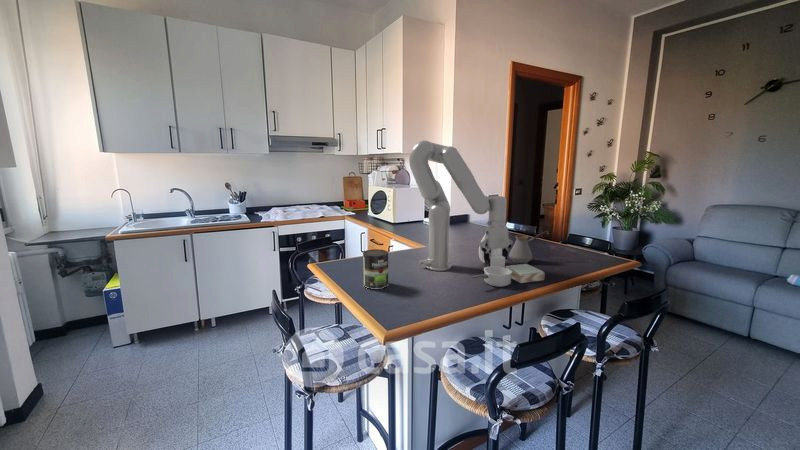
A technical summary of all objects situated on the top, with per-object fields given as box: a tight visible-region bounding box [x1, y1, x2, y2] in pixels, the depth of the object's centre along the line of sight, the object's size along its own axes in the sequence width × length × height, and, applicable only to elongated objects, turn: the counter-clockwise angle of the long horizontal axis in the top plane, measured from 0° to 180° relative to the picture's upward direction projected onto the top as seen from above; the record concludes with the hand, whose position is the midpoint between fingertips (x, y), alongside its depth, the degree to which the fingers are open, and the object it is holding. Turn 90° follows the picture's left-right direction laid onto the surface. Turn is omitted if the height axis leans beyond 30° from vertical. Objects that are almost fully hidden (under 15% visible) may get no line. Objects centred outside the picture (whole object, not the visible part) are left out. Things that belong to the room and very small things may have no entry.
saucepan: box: [470, 266, 512, 288], centre depth 137 cm, size 12×20×6 cm, turn 120°
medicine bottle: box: [484, 248, 506, 268], centre depth 154 cm, size 7×7×12 cm
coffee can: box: [362, 248, 389, 289], centre depth 136 cm, size 10×10×14 cm
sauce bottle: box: [478, 232, 486, 264], centre depth 164 cm, size 8×8×18 cm
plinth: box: [505, 263, 546, 284], centre depth 146 cm, size 12×12×4 cm
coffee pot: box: [508, 230, 550, 264], centre depth 169 cm, size 21×12×15 cm, turn 106°
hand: (495, 259), depth 154 cm, fingers open, 9 cm apart
